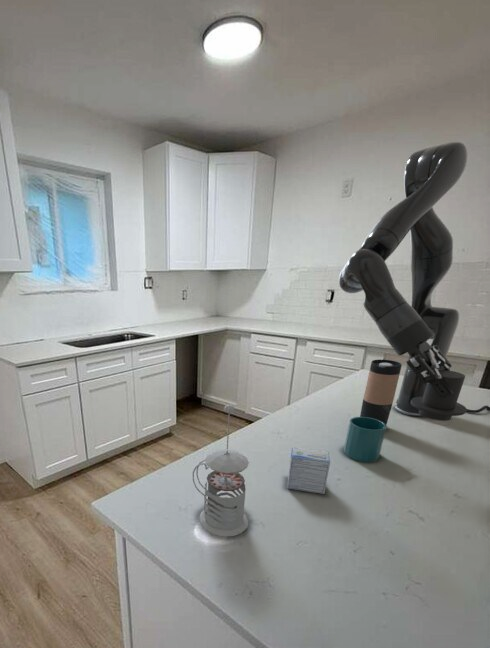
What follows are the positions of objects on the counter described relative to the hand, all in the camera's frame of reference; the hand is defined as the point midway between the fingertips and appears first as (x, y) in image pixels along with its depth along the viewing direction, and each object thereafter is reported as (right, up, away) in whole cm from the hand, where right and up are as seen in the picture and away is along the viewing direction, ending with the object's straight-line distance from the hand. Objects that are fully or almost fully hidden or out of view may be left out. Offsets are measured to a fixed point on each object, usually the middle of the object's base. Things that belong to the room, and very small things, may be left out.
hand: (451, 392), depth 77 cm
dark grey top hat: (-1, -5, +4) cm, 6 cm away
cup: (-9, -15, +19) cm, 26 cm away
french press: (-50, -26, -3) cm, 56 cm away
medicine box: (-29, -21, +6) cm, 36 cm away
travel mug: (+2, -8, +33) cm, 35 cm away
